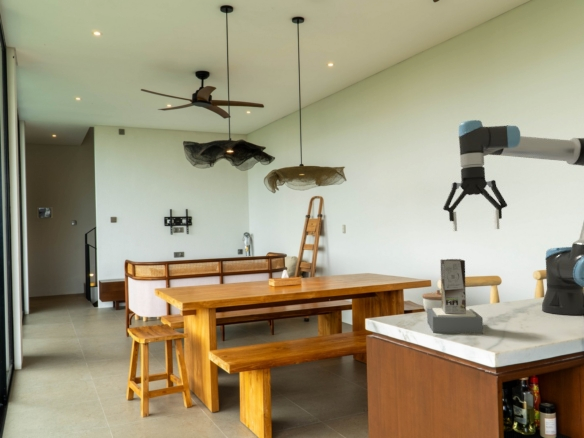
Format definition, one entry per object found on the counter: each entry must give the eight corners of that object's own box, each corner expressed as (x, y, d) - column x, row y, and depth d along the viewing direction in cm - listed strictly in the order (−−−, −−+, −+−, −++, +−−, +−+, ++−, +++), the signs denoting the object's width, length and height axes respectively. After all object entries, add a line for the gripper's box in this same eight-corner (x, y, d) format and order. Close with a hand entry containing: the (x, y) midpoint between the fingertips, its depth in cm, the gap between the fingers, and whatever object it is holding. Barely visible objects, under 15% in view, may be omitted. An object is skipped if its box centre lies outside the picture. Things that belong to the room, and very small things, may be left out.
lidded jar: (461, 319, 167) (460, 291, 167) (432, 320, 165) (431, 292, 165) (445, 313, 178) (444, 287, 178) (417, 315, 176) (417, 288, 176)
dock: (472, 323, 159) (471, 307, 159) (482, 333, 143) (482, 316, 143) (427, 322, 161) (427, 307, 162) (433, 332, 146) (432, 315, 146)
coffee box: (466, 314, 147) (465, 260, 148) (444, 313, 149) (443, 260, 149) (462, 309, 156) (460, 258, 157) (441, 309, 158) (439, 258, 158)
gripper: (507, 166, 168) (511, 228, 168) (432, 170, 171) (436, 231, 171) (514, 163, 161) (518, 228, 160) (436, 168, 164) (439, 231, 163)
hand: (476, 230), depth 165 cm, fingers open, 13 cm apart
